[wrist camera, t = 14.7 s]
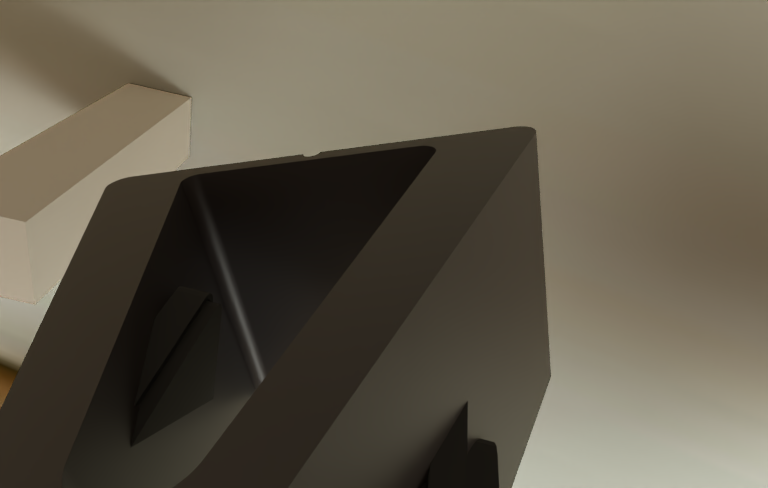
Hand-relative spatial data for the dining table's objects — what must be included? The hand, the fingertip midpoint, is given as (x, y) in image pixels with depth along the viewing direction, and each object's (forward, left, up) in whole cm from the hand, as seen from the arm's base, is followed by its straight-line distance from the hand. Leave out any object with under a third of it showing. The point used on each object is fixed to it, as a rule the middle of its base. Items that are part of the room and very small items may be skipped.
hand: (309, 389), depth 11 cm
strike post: (+11, +4, -19) cm, 22 cm away
